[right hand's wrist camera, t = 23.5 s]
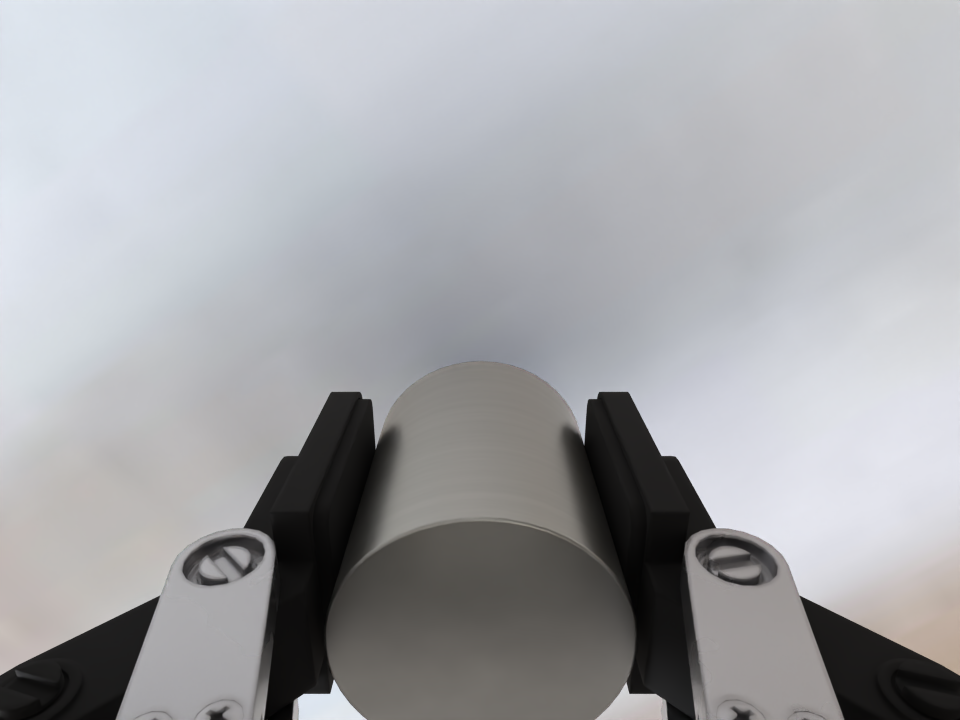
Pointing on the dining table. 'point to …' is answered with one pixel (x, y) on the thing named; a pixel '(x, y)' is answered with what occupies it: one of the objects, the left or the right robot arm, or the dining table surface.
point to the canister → (480, 562)
